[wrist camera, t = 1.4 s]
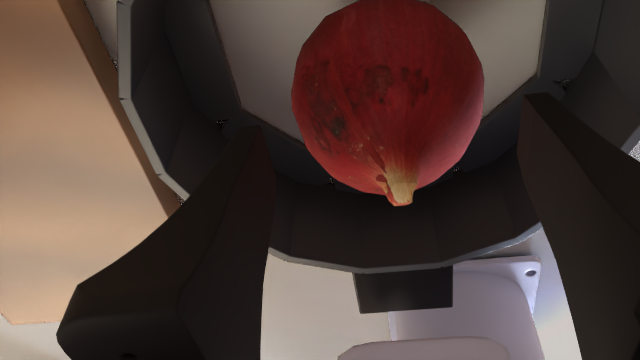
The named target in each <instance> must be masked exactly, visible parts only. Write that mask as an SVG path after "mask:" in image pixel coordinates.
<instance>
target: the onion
mask: <svg viewBox="0 0 640 360" xmlns="http://www.w3.org/2000/svg"><path fill="white" fill-rule="evenodd" d="M483 95H484V74H483V69H482V64H481V62H480V60H479V58H478V56H477V54H476V52H475V50H474V48H473V46H472V44H471V43H470V41H469V39H468V37H467V35H466V34H465V32H464V31H463V30H462V29H461V28H460V27H459V26H458V25H457V24H456V23H455V22H453V21H452V20H451V19H450V18H448V17H447V16H446V15H445V14H444V13H442V12H441V11H440V10H439V9H437V8H436V7H435V6H434V5H431V4H427V3H424V2H420V1H417V0H359V1H357V2H354V3H352V4H350V5H348V6H346V7H344V8H342V9H340V10H338V11H336V12H334V13H332V14H329V15H327V16H325V18H324V19H323V20H322V22H321V23H320V24H319V25H318V27H317V28H316V29H315V30H314V32H313V33H312V34H311V35H310V37H309V38H308V39H307V41H306V42H305V43H304V44H303V46H302V48H301V51H300V53H299V56H298V58H297V62H296V68H295V74H294V79H293V85H292V90H291V100H292V110H293V113H294V116H295V118H296V121H297V124H298V126H299V129H300V132H301V134H302V137H303V140H304V143H305V145H306V148H307V149H308V150H309V152H310V153H311V154H312V156H313V157H314V158H315V159H316V160H317V161H318V162H319V163H320V164H321V165H322V167H323V168H324V169H325V170H326V171H327V172H328V173H329V174H330V175H331V176H332V177H334V178H335V179H337V180H338V181H340V182H342V183H344V184H347V185H349V186H351V187H353V188H355V189H357V190H360V191H363V192H367V193H374V194H381V195H386V196H387V198H388V200H389V202H391V203H392V204H393V205H394V206H404V205H408V204H410V203H412V201H413V199H412V198H413V192H414V190H417V189H419V188H421V187H423V186H425V185H427V184H429V183H431V182H434V181H435V180H436V179H438V178H439V177H440V176H441V175H443V174H444V173H445V172H446V171H447V170H448V169H450V168H451V167H452V166H453V165H454V164H456V163H457V162H458V161H459V160H460V159H461V157H462V156H463V154H464V153H465V151H466V149H467V147H468V145H469V143H470V141H471V140H472V138H473V136H474V134H475V132H476V130H477V128H478V126H479V124H480V120H481V117H482V113H483Z"/></svg>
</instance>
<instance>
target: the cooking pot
mask: <svg viewBox="0 0 640 360" xmlns="http://www.w3.org/2000/svg"><path fill="white" fill-rule="evenodd" d="M116 4H117V51H118V96H119V100H120V102H121V104H122V106H123V108H124V110H125V112H126V114H127V116H128V118H129V120H130V122H131V124H132V126H133V128H134V130H135V132H136V135H137V137H138V139H139V141H140V143H141V145H142V147H143V149H144V151H145V153H146V155H147V157H148V159H149V161H150V163H151V165H152V167H153V169H154V171H155V173H156V174H158V177H159V178H160V179H161V180H162V181H164V182H165V183H166V184H167V185H168V186H169V187H170V188H171V189H172V190H173V191H174V192H176V193H177V194H178V195H179V196H180V197H181V198H182V199H183V200H184V201H186V199H187V198H188V197H189V196H190V195H191V193H192V192H193V191H194V190H195V189H196V187H197V186H198V185H199V184H200V182H201V181H202V180H203V179H204V177H205V176H206V175H207V173H208V172H209V171H210V169H211V168H212V166H213V165H214V164H215V162H216V161H217V160H218V158H219V157H220V155H221V154H222V152H223V151H224V149H225V148H226V146H227V145H228V144H229V142H230V141H231V139H232V138H233V136H234V135H235V133H236V132H237V130H238V129H239V128H240V127H248V126H256V125H261V128H262V132H263V135H264V138H265V142H266V145H267V149H268V152H269V155H270V159H271V162H272V166H273V169H274V172H275V176H276V200H275V213H274V219H273V225H272V231H271V237H270V243H269V249H268V253H269V254H271V255H273V256H275V257H277V258H280V259H282V260H284V261H286V260H287V262H292V263H298V264H304V265H310V266H316V267H322V268H328V269H334V270H340V271H346V272H352V275H353V280H354V285H355V290H356V296H357V301H358V306H359V311H360V313H361V314H365V313H380V312H394V311H409V310H424V309H438V308H452V307H453V265H454V264H457V263H460V262H463V261H466V260H469V259H472V258H475V257H478V256H481V255H484V254H487V253H490V252H493V251H496V250H499V249H502V248H505V247H508V246H511V245H514V244H517V243H520V241H524V240H526V239H527V238H529V237H530V236H532V235H533V234H535V233H536V232H538V231H539V230H541V229H542V228H543V227H542V225H541V222H540V220H539V217H538V215H537V213H536V210H535V208H534V206H533V203H532V201H531V198H530V196H529V193H528V191H527V188H526V186H525V183H524V179H523V176H522V172H521V168H520V164H519V160H518V156H517V147H518V138H519V129H520V120H521V112H522V103H523V95H524V94H533V93H542V92H548V93H549V94H551V95H552V96H553V97H554V98H555V99H556V100H558V101H559V102H560V103H561V104H562V105H564V106H565V107H566V108H567V109H568V110H569V111H571V112H572V113H573V114H574V115H575V116H577V117H578V118H579V119H580V120H582V121H583V122H584V123H585V124H586V125H588V126H589V127H590V128H592V129H593V130H594V131H595V132H597V133H598V134H599V135H601V136H602V137H603V138H605V139H606V140H608V141H609V142H610V143H612V144H613V145H615V146H616V147H618V148H619V149H621V150H622V151H624V152H625V153H627V154H629V153H630V151H631V150H632V149H633V148H634V147H635V145H636V144H637V143H638V142H639V140H640V0H546V4H545V12H544V20H543V28H542V36H541V43H540V51H539V59H538V67H537V74H536V75H535V76H533V77H532V78H531V79H530V80H529V81H528V82H526V83H525V84H524V85H523V86H522V87H521V88H519V89H518V90H517V91H516V92H515V93H514V94H512V95H511V96H510V97H509V98H508V99H507V100H505V101H504V102H503V103H502V104H501V105H500V106H498V107H497V108H496V109H495V110H494V111H493V112H491V113H490V114H489V115H488V116H487V117H485V118H484V119H483V120H482V121H481V122H480V124H479V126H478V128H477V130H476V132H475V134H474V136H473V138H472V140H471V141H470V143H469V145H468V147H467V149H466V151H465V153H464V154H463V156H462V157H461V159H460V160H459V161H458V162H457V163H456V164H454V165H455V166H456V167H458V168H460V169H461V170H460V171H457V172H455V173H453V166H452V167H451V168H450V169H448V170H447V171H446V172H445V173H444V174H443V175H441V176H440V177H439V178H438V179H436V180H435V181H434V182H431V183H429V184H427V185H425V186H423V187H421V188H419V189H417V190H414V192H413V198H412V199H413V201H412V203H410V204H408V205H404V206H394V205H393V204H392V203H391V202H389V200H388V198H387V196H386V195H381V194H374V193H367V192H363V191H360V190H357V189H355V188H353V187H351V186H349V185H347V184H344V183H342V182H340V181H338V180H337V179H335V178H334V177H333V181H334V185H331V184H326V182H327V181H328V180H329V179H330V178H332V176H331V175H330V174H329V173H328V172H327V171H326V170H325V169H324V168H323V167H322V165H321V164H320V163H319V162H318V161H317V160H316V159H315V158H314V157H313V156H312V154H311V153H310V152H309V150H308V149H307V148H306V145H305V144H303V143H301V142H299V141H298V140H296V139H294V138H292V137H290V136H289V135H287V134H285V133H283V132H282V131H280V130H278V129H276V128H275V127H273V126H271V125H269V124H268V123H266V122H264V121H262V120H261V119H259V118H257V117H255V116H254V115H252V114H250V113H248V112H247V111H245V110H243V109H242V107H241V103H240V100H239V97H238V94H237V91H236V87H235V84H234V81H233V78H232V75H231V71H230V68H229V65H228V62H227V59H226V56H225V52H224V49H223V46H222V43H221V40H220V36H219V33H218V30H217V27H216V24H215V20H214V17H213V14H212V11H211V8H210V4H209V1H208V0H118V1H117V2H116ZM567 79H570V80H569V82H568V83H567V85H566V87H565V88H564V87H563V86H562V85H560V84H559V83H558V82H557V81H558V80H567ZM218 120H226V122H225V123H224V124H223V126H222V127H220V126H219V125H218V124H217V123H216V122H215V121H218Z"/></svg>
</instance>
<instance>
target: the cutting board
mask: <svg viewBox="0 0 640 360" xmlns="http://www.w3.org/2000/svg"><path fill="white" fill-rule="evenodd" d="M180 206H181V205H180V202H179V200H178V198H177V196H176V194H175V192H174V191H173V190H172V189H171V188H170V187H169V186H168V185H167V184H166V183H165V182H164V181H162V180H161V179H160V178H159V177H158V174H156V173H155V171H154V169H153V167H152V165H151V163H150V161H149V159H148V157H147V155H146V153H145V151H144V149H143V147H142V145H141V143H140V141H139V139H138V137H137V135H136V132H135V130H134V128H133V126H132V124H131V122H130V120H129V118H128V116H127V114H126V112H125V110H124V108H123V106H122V104H121V102H120V100H119V96H118V73H117V70H116V68H115V66H114V64H113V62H112V60H111V58H110V56H109V54H108V52H107V50H106V47H105V45H104V43H103V41H102V39H101V37H100V35H99V33H98V31H97V29H96V26H95V24H94V22H93V20H92V18H91V16H90V14H89V12H88V10H87V8H86V6H85V3H84V1H83V0H0V313H1V314H2V315H3V316H4V318H5V319H6V320H7V321H8V322H9V323H10V324H12V325H18V324H31V323H45V322H59V321H62V318H63V316H64V314H65V311H66V309H67V306H68V304H69V301H70V299H71V297H72V295H73V293H74V291H75V289H76V287H77V285H78V284H79V283H81V282H83V281H85V280H86V279H88V278H89V277H91V276H93V275H94V274H96V273H98V272H99V271H101V270H102V269H104V268H106V267H107V266H109V265H110V264H112V263H113V262H115V261H116V260H118V259H119V258H120V257H122V256H123V255H125V254H126V253H127V252H129V251H130V250H131V249H133V248H134V247H135V246H137V245H138V244H139V243H141V242H142V241H143V240H144V239H145V238H147V237H148V236H149V235H150V234H151V233H152V232H153V231H155V230H156V229H157V228H158V227H159V226H160V225H162V224H163V223H164V222H165V221H166V220H167V219H168V218H169V217H170V216H171V215H172V214H173V213H174V212H175V211H176V210H177V209H178V208H179V207H180Z"/></svg>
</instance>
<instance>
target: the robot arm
mask: <svg viewBox="0 0 640 360" xmlns="http://www.w3.org/2000/svg"><path fill="white" fill-rule="evenodd" d="M517 156H518V160H519V164H520V168H521V172H522V176H523V179H524V183H525V186H526V188H527V191H528V193H529V196H530V198H531V201H532V203H533V206H534V208H535V210H536V213H537V215H538V217H539V220H540V222H541V225H542V227H543V229H544V232H545V234H546V236H547V239H548V241H549V244H550V246H551V248H552V251H553V254H554V257H555V259H556V262H557V265H558V269H559V272H560V276H561V279H562V283H563V286H564V290H565V293H566V297H567V301H568V305H569V308H570V312H571V316H572V320H573V323H574V327H575V332H576V336H577V340H578V344H579V348H580V352H581V356H582V360H640V162H639V161H638V160H636V159H634V158H633V157H631V156H630V155H628V154H627V153H625V152H624V151H622V150H621V149H619V148H618V147H616V146H615V145H613V144H612V143H610V142H609V141H608V140H606V139H605V138H603V137H602V136H601V135H599V134H598V133H597V132H595V131H594V130H593V129H592V128H590V127H589V126H588V125H586V124H585V123H584V122H583V121H582V120H580V119H579V118H578V117H577V116H575V115H574V114H573V113H572V112H571V111H569V110H568V109H567V108H566V107H565V106H564V105H562V104H561V103H560V102H559V101H558V100H556V99H555V98H554V97H553V96H552V95H551V94H549V93H548V92H542V93H533V94H524V95H523V103H522V112H521V120H520V129H519V138H518V147H517ZM275 200H276V176H275V172H274V169H273V166H272V162H271V159H270V155H269V152H268V149H267V145H266V142H265V138H264V135H263V132H262V128H261V125H256V126H248V127H240V128H239V129H238V130H237V132H236V133H235V135H234V136H233V138H232V139H231V141H230V142H229V144H228V145H227V146H226V148H225V149H224V151H223V152H222V154H221V155H220V157H219V158H218V160H217V161H216V162H215V164H214V165H213V166H212V168H211V169H210V171H209V172H208V173H207V175H206V176H205V177H204V179H203V180H202V181H201V182H200V184H199V185H198V186H197V187H196V189H195V190H194V191H193V192H192V193H191V195H190V196H189V197H188V198H187V199H186V201H185V202H184V203H183V204H182V205H181V206H180V207H179V208H178V209H177V210H176V211H175V212H174V213H173V214H172V215H171V216H170V217H169V218H168V219H167V220H166V221H165V222H164V223H163V224H162V225H160V226H159V227H158V228H157V229H156V230H155V231H153V232H152V233H151V234H150V235H149V236H148V237H147V238H145V239H144V240H143V241H142V242H141V243H139V244H138V245H137V246H135V247H134V248H133V249H131V250H130V251H129V252H127V253H126V254H125V255H123V256H122V257H120V258H119V259H118V260H116V261H115V262H113V263H112V264H110V265H109V266H107V267H106V268H104V269H102V270H101V271H99V272H98V273H96V274H94V275H93V276H91V277H89V278H88V279H86V280H85V281H83V282H81V283H79V284H78V285H77V287H76V289H75V291H74V293H73V295H72V297H71V299H70V301H69V304H68V306H67V309H66V311H65V314H64V316H63V318H62V321H61V323H60V326H59V328H58V331H57V333H56V336H57V341H58V343H59V345H60V346H61V348H62V349H63V351H64V352H65V353H66V354H67V355H68V356H69V357H70V358H71V360H260V344H261V316H262V296H263V282H264V274H265V267H266V261H267V255H268V249H269V243H270V237H271V231H272V225H273V219H274V213H275ZM541 267H542V264H541V261H540V258H539V257H537V256H534V255H529V256H516V257H503V258H491V259H478V260H466V261H463V262H460V263H457V264H454V265H453V307H452V308H438V309H424V310H409V311H394V312H387V314H388V322H389V329H390V337H391V341H381V342H370V343H365V344H361V345H356V346H353V347H351V348H350V349H348V350H347V351H345V352H344V353H342V354H341V355H340V356H338V359H337V360H545V357H544V354H543V350H542V347H541V344H540V341H539V337H538V334H537V331H536V327H535V324H534V321H533V317H532V315H533V309H534V304H535V299H536V294H537V288H538V283H539V278H540V272H541Z"/></svg>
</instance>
